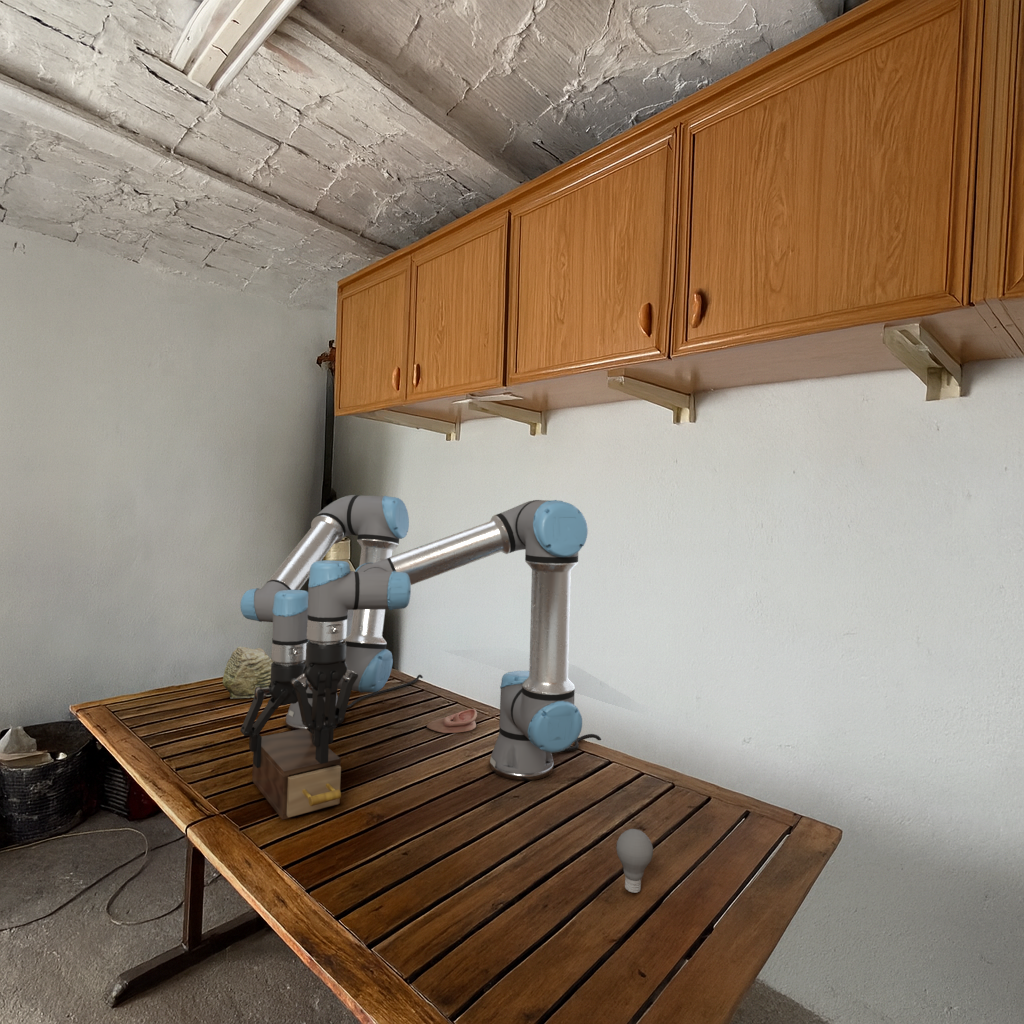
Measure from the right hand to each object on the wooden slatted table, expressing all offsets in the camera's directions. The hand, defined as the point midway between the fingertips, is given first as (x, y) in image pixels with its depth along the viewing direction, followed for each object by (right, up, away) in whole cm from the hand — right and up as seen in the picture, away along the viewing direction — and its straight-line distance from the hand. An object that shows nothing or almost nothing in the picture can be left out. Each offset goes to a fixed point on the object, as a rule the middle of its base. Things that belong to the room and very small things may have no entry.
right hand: (321, 760), depth 124 cm
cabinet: (-9, -11, +12) cm, 19 cm away
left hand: (-13, -6, +16) cm, 22 cm away
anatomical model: (+20, -12, +54) cm, 59 cm away
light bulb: (+57, -15, -18) cm, 62 cm away
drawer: (-6, -11, +7) cm, 14 cm away
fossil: (-43, -9, +75) cm, 87 cm away
